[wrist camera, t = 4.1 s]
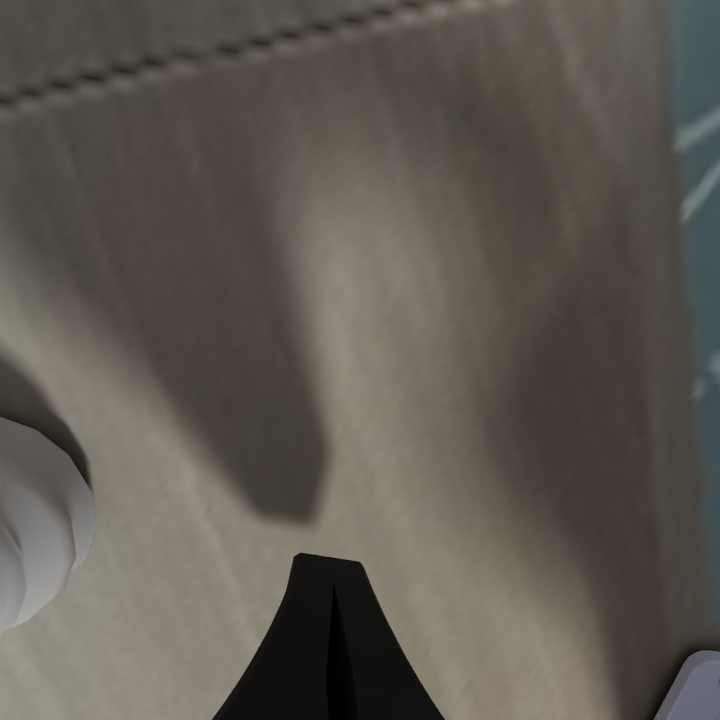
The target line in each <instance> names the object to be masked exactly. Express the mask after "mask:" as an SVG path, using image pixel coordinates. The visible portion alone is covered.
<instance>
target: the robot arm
mask: <svg viewBox="0 0 720 720" xmlns="http://www.w3.org/2000/svg"><path fill="white" fill-rule="evenodd" d="M212 720H445V719H444V718H443V716H442V715H441V713H440V712H439V710H438V709H437V707H436V706H435V704H434V703H433V701H432V700H431V698H430V696H429V695H428V693H427V692H426V690H425V689H424V687H423V685H422V684H421V682H420V680H419V679H418V677H417V675H416V674H415V672H414V670H413V668H412V667H411V665H410V663H409V661H408V660H407V658H406V656H405V654H404V652H403V651H402V649H401V647H400V645H399V643H398V641H397V639H396V637H395V635H394V633H393V631H392V629H391V628H390V626H389V624H388V621H387V619H386V617H385V615H384V613H383V611H382V609H381V607H380V605H379V602H378V600H377V598H376V596H375V593H374V591H373V589H372V586H371V584H370V582H369V579H368V577H367V574H366V572H365V569H364V567H363V565H362V564H361V563H360V562H357V561H351V560H345V559H338V558H332V557H325V556H319V555H312V554H306V553H299V554H298V555H296V556H294V559H293V563H292V568H291V572H290V576H289V581H288V585H287V589H286V592H285V595H284V598H283V600H282V602H281V604H280V607H279V609H278V611H277V613H276V615H275V618H274V620H273V622H272V624H271V626H270V628H269V630H268V632H267V634H266V636H265V637H264V639H263V641H262V643H261V645H260V646H259V648H258V650H257V652H256V654H255V655H254V657H253V659H252V661H251V662H250V664H249V666H248V667H247V669H246V671H245V672H244V674H243V675H242V677H241V678H240V680H239V682H238V683H237V685H236V686H235V688H234V689H233V691H232V692H231V694H230V695H229V697H228V698H227V700H226V701H225V702H224V704H223V705H222V707H221V708H220V709H219V711H218V712H217V713H216V715H215V716H214V718H213V719H212ZM654 720H720V652H717V651H710V650H705V651H699V652H696V653H694V654H692V655H691V656H689V657H688V658H687V660H686V661H685V662H684V664H683V666H682V668H681V670H680V672H679V673H678V675H677V677H676V679H675V681H674V683H673V685H672V686H671V688H670V690H669V692H668V694H667V696H666V698H665V699H664V701H663V703H662V705H661V707H660V709H659V711H658V713H657V714H656V716H655V718H654Z"/></svg>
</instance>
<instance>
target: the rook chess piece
mask: <svg viewBox="0 0 720 720" xmlns="http://www.w3.org/2000/svg"><path fill="white" fill-rule="evenodd" d="M96 529H97V528H96V520H95V512H94V504H93V496H92V492H91V490H90V489H89V487H88V485H87V484H86V482H85V480H84V479H83V477H82V476H81V474H80V472H79V471H78V469H77V467H76V466H75V464H74V463H73V461H72V459H71V458H70V456H69V455H68V454H67V453H66V452H65V451H64V450H62V449H61V448H60V447H59V446H57V445H56V444H55V443H53V442H52V441H51V440H50V439H48V438H47V437H46V436H45V435H43V434H42V433H41V432H39V431H38V430H36V429H33V428H30V427H27V426H25V425H22V424H19V423H16V422H14V421H11V420H8V419H5V418H3V417H0V635H1V634H2V633H3V632H4V631H5V630H6V629H8V628H11V627H14V626H17V625H20V624H23V623H25V622H26V621H27V620H28V619H30V618H31V617H32V616H33V615H34V614H35V613H37V612H38V611H39V610H40V609H41V608H42V607H43V606H45V605H46V604H47V603H48V602H49V601H50V600H51V599H52V598H54V597H55V596H56V595H57V594H58V593H59V592H60V591H62V590H63V589H64V588H65V585H66V582H67V580H68V577H69V574H70V573H71V572H72V571H73V570H74V569H75V568H77V567H78V566H79V565H80V564H81V563H82V562H83V561H84V560H85V558H86V555H87V553H88V550H89V547H90V545H91V542H92V540H93V537H94V534H95V532H96Z"/></svg>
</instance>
